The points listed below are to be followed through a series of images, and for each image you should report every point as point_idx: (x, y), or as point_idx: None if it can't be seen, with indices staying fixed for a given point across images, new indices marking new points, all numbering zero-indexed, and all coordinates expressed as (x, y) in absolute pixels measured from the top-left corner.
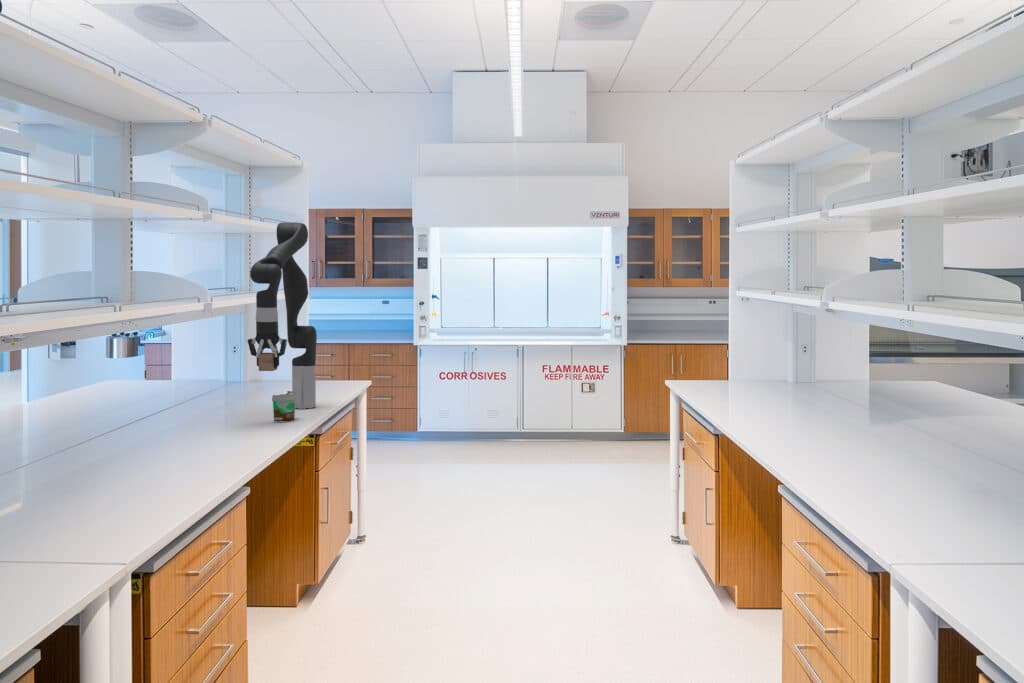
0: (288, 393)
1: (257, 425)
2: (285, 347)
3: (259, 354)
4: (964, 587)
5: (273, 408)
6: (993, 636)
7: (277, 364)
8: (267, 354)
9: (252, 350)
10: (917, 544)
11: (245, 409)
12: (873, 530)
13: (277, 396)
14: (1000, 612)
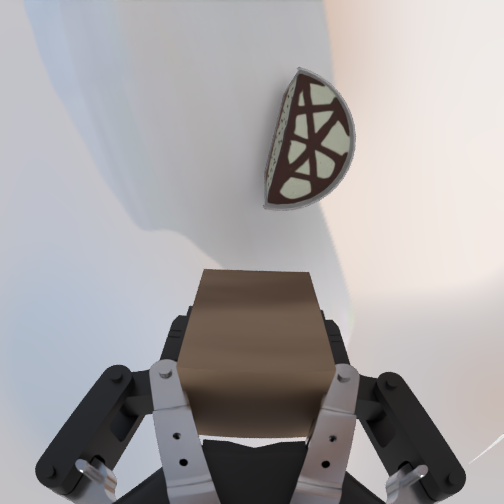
0: (307, 84)
1: (231, 236)
2: (427, 429)
3: (203, 432)
4: (492, 445)
5: (265, 188)
6: (471, 461)
7: None
8: (268, 435)
9: (125, 431)
10: None
11: None
12: None
13: (287, 207)
14: (484, 452)
